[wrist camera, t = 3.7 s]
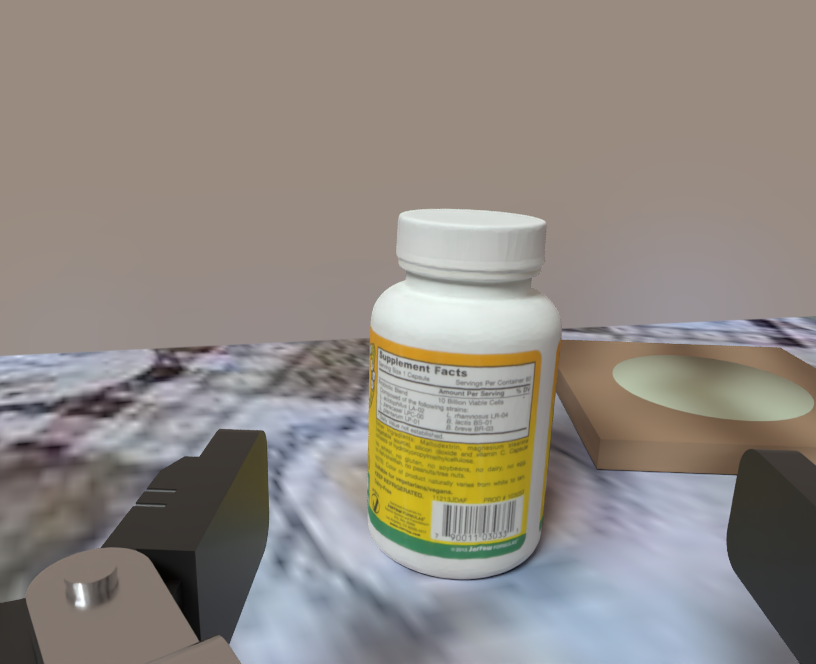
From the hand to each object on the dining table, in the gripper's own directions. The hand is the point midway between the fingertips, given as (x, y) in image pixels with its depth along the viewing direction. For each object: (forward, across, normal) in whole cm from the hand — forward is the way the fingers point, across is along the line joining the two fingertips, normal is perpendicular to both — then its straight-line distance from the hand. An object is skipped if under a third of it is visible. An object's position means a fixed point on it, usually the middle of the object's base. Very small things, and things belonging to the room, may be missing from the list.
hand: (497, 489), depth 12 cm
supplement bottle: (+8, 0, +6) cm, 10 cm away
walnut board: (+19, -12, +6) cm, 23 cm away
